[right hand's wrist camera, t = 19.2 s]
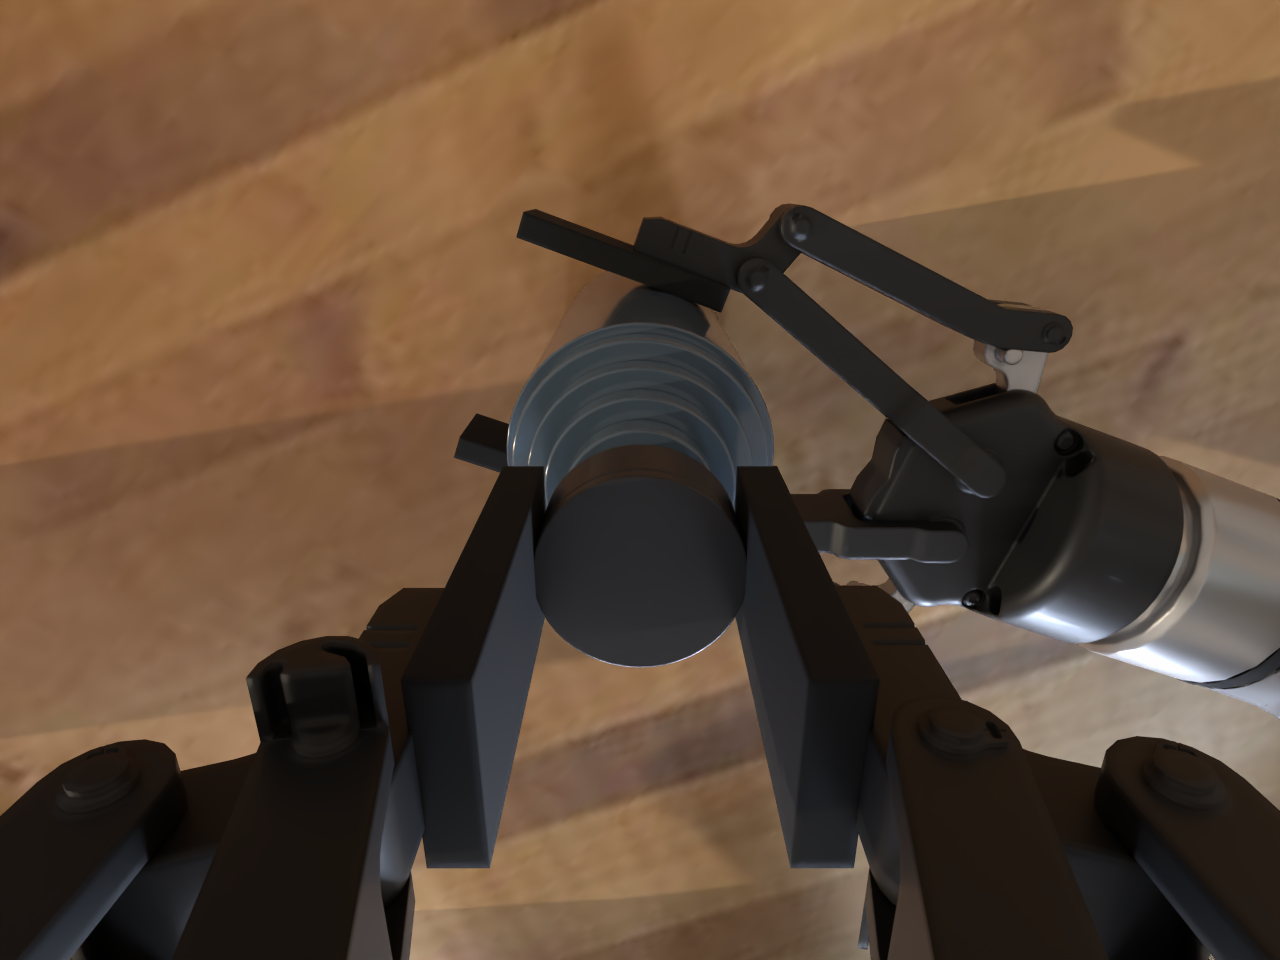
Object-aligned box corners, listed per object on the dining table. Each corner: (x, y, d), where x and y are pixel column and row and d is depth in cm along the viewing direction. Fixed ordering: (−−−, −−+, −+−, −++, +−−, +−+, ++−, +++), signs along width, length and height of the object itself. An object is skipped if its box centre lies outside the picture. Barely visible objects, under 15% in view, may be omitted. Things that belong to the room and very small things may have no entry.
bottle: (534, 305, 31) (385, 475, 13) (680, 235, 30) (742, 312, 12) (603, 443, 33) (559, 753, 15) (742, 382, 32) (873, 636, 14)
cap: (755, 458, 14) (769, 493, 12) (717, 629, 15) (726, 680, 14) (553, 429, 14) (543, 461, 12) (533, 605, 15) (521, 654, 13)
